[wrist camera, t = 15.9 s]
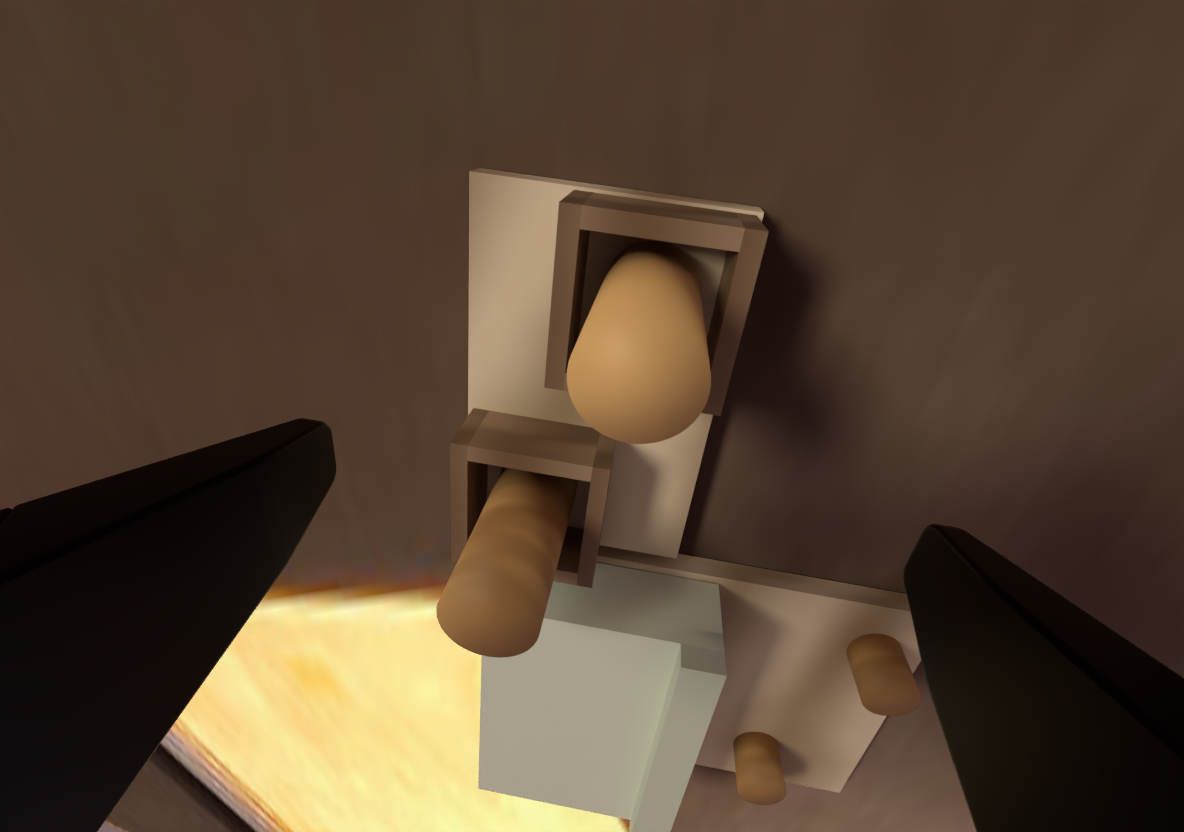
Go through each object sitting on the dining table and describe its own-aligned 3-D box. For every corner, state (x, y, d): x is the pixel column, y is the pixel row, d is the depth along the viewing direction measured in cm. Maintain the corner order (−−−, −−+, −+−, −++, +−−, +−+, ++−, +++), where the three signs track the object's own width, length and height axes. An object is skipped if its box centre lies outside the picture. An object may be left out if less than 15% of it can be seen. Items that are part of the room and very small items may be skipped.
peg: (689, 340, 18) (694, 454, 12) (598, 326, 19) (560, 431, 12) (708, 248, 17) (726, 325, 11) (610, 233, 17) (573, 301, 11)
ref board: (937, 599, 23) (972, 665, 21) (834, 772, 30) (851, 841, 27) (495, 521, 25) (471, 573, 22) (488, 704, 31) (469, 763, 28)
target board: (759, 207, 17) (817, 274, 10) (676, 542, 24) (677, 721, 17) (479, 168, 18) (352, 207, 11) (475, 506, 24) (394, 666, 17)
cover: (718, 584, 23) (726, 676, 19) (664, 756, 29) (663, 851, 26) (506, 546, 24) (474, 628, 20) (497, 723, 30) (471, 811, 26)
